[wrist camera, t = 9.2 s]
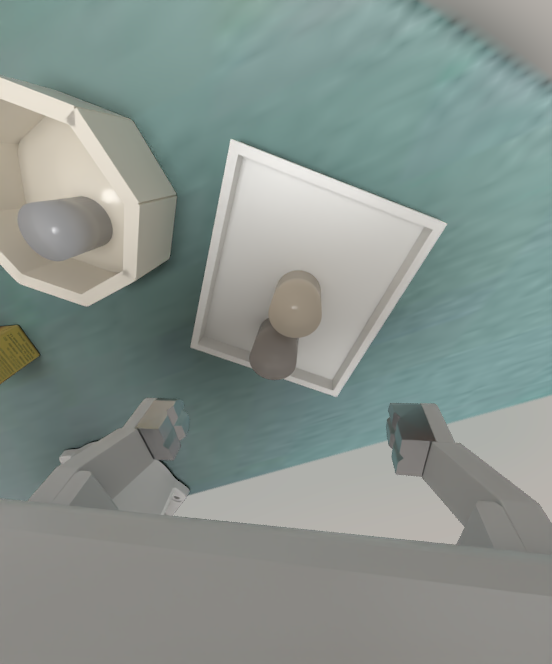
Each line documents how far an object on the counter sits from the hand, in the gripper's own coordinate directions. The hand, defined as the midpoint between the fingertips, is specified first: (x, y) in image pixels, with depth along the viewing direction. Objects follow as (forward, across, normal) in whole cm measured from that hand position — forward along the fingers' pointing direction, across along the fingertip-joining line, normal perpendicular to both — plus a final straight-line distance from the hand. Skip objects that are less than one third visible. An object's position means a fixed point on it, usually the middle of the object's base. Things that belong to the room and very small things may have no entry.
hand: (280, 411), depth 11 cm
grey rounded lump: (+12, +16, -6) cm, 21 cm away
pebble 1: (+13, 0, 0) cm, 13 cm away
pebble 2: (+13, +2, +4) cm, 14 cm away
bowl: (+13, +15, -8) cm, 22 cm away
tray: (+14, 0, 0) cm, 14 cm away
